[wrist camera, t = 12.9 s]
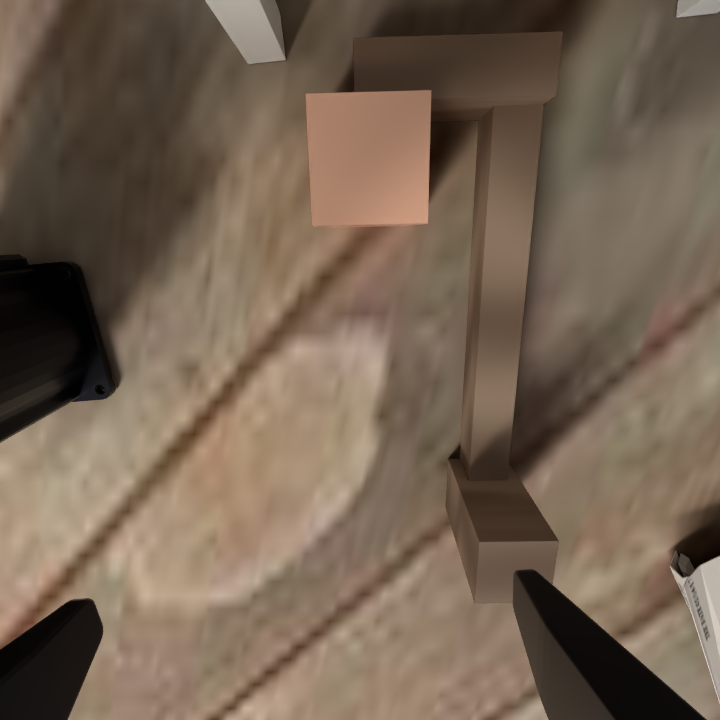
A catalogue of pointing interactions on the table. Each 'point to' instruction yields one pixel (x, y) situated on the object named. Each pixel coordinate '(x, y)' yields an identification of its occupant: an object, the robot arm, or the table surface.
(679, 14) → the low shelf
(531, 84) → the tan post with foot
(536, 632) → the robot arm
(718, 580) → the newspaper
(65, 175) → the table surface
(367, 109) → the terracotta block
